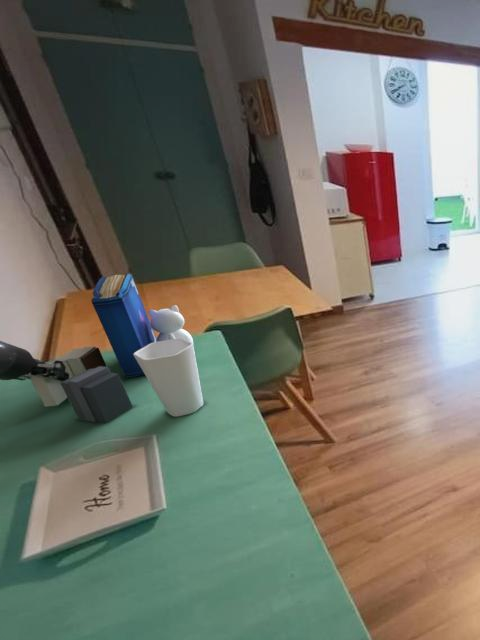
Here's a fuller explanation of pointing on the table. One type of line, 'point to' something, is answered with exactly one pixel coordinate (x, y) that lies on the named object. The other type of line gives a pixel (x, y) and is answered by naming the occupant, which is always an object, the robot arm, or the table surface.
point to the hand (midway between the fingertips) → (59, 378)
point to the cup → (172, 374)
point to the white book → (49, 390)
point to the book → (123, 319)
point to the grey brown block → (82, 360)
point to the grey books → (97, 395)
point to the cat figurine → (169, 324)
